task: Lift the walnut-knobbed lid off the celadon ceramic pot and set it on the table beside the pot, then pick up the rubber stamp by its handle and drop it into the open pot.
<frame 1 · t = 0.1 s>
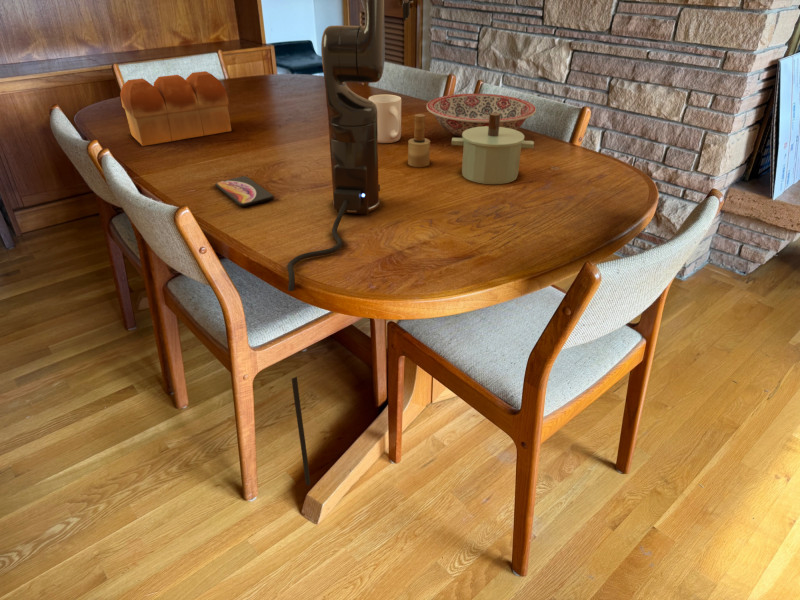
hand: (387, 19, 138), 29 cm above the table, tool pointing down, fingers open, 8 cm apart
bread: (182, 133, 158), on the table
ceramic bowl: (478, 136, 157), on the table
mug: (388, 141, 153), on the table
lid: (492, 137, 127), point 8 cm above the table, touching pot
rubber stamp: (418, 163, 138), on the table
smartphone: (244, 193, 121), on the table
pot: (489, 174, 131), on the table
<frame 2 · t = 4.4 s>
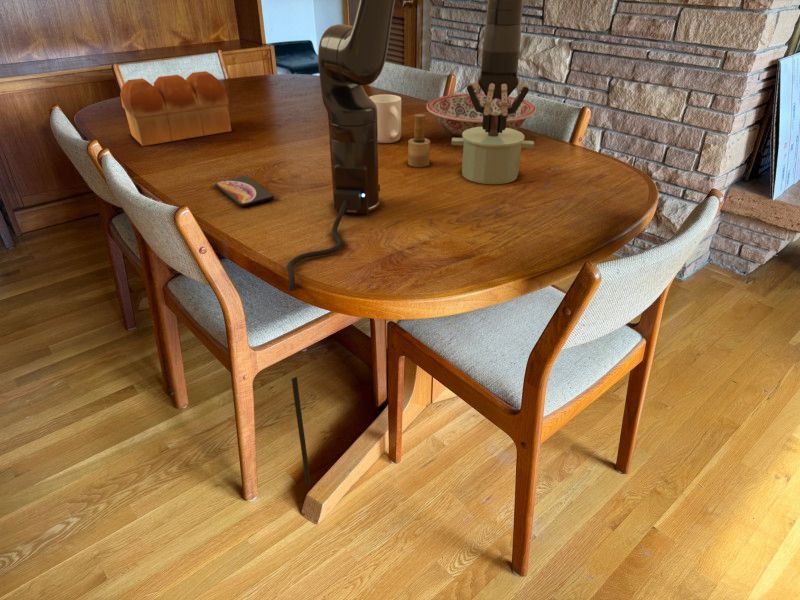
hand: (493, 131, 126), 10 cm above the table, tool pointing down, fingers closed on lid, 2 cm apart
lid: (492, 137, 127), point 9 cm above the table, touching gripper, pot
everything else where it was.
when the fingers open (2 cm above the table, at t = 11.6 s): lid stays where it is, point 1 cm above the table.
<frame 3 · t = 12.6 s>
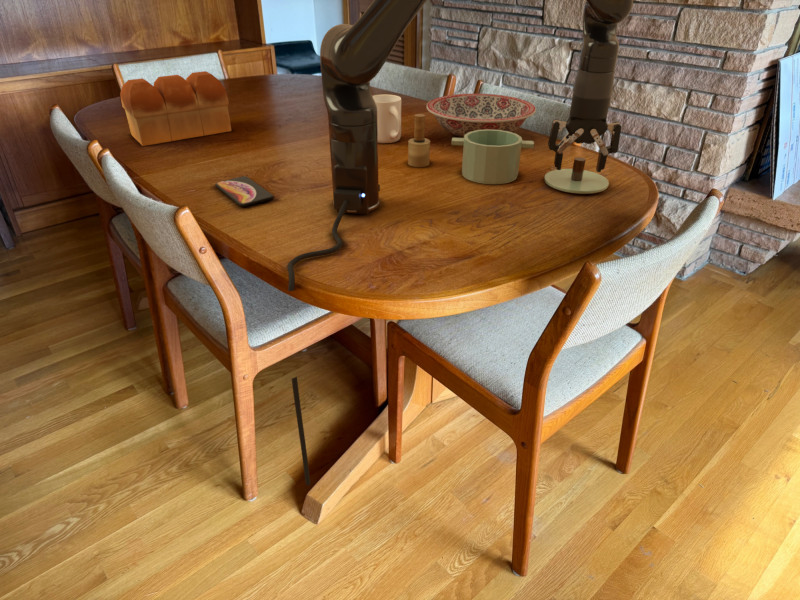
hand: (578, 170, 124), 3 cm above the table, tool pointing down, fingers open, 8 cm apart
lid: (575, 181, 126), point 1 cm above the table
everything else where it was.
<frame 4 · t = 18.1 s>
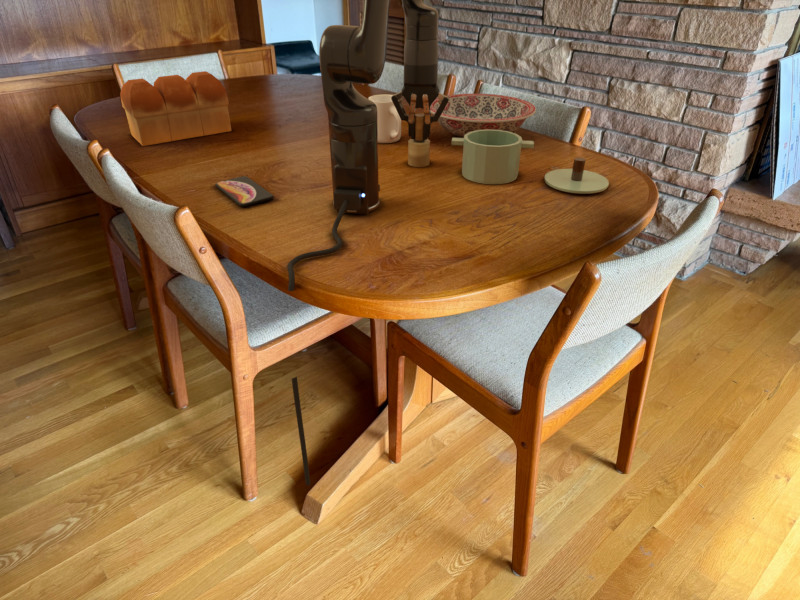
hand: (419, 138, 134), 6 cm above the table, tool pointing down, fingers closed on rubber stamp, 2 cm apart
rubber stamp: (418, 163, 138), on the table, touching gripper
everything else where it was.
when the fingers open (7 cm above the table, at t = 24.9 s): rubber stamp stays where it is, resting on pot.
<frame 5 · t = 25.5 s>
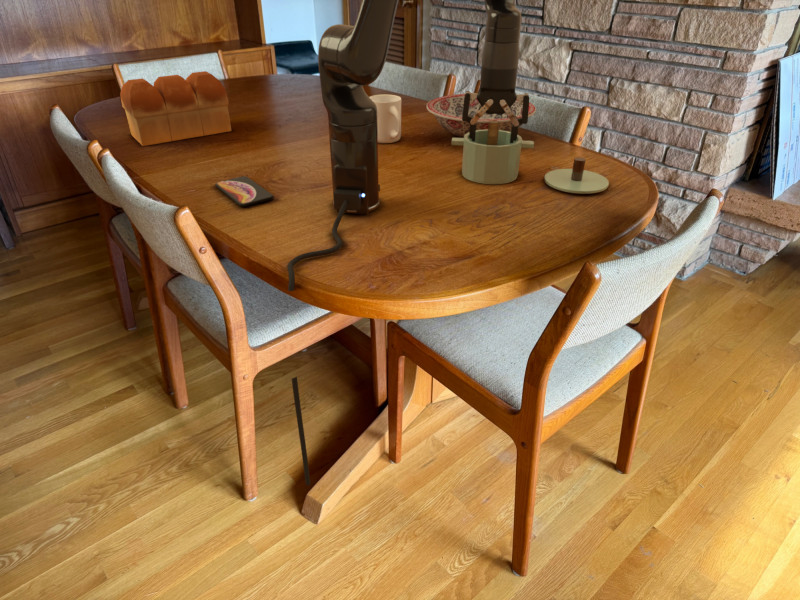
hand: (492, 141, 127), 8 cm above the table, tool pointing down, fingers open, 8 cm apart
rubber stamp: (489, 171, 131), resting on pot
everything else where it was.
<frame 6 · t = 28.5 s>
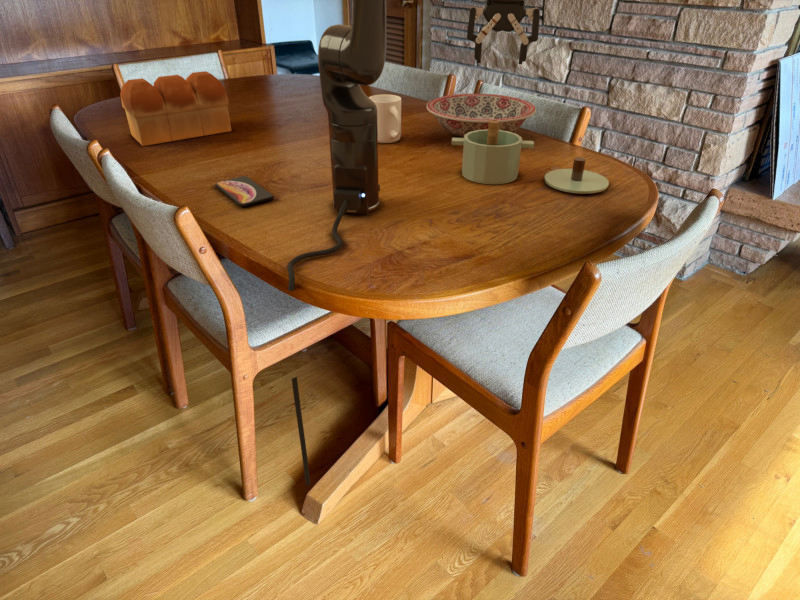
hand: (499, 63, 118), 24 cm above the table, tool pointing down, fingers open, 8 cm apart
nothing on the table moved.
at the end: lid inside the target area (0.1 cm from its centre), point 0.6 cm above the table; lid tilted 0°; rubber stamp inside the target area in the pot (0.2 cm from its centre), point 0.5 cm above the pot's base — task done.
